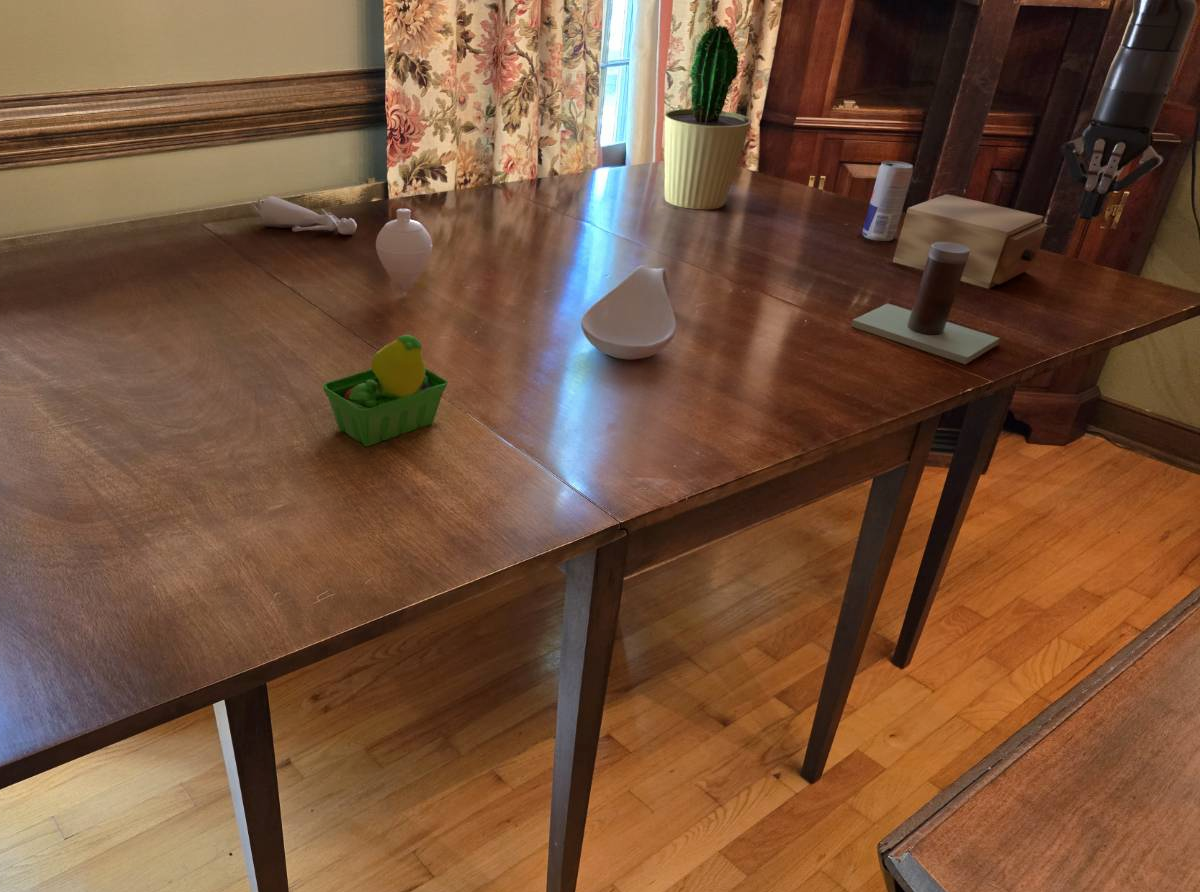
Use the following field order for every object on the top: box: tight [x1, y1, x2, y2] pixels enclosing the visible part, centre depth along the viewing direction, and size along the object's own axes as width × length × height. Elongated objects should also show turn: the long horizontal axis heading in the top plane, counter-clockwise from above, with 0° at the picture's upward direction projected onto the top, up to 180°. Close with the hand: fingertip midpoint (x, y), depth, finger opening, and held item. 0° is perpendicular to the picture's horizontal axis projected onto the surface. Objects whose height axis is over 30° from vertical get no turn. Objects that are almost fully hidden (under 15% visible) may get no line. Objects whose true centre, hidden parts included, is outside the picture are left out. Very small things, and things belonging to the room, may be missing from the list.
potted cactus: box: [664, 21, 752, 210], centre depth 172 cm, size 15×15×30 cm
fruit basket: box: [322, 334, 448, 448], centre depth 99 cm, size 11×9×11 cm
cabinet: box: [892, 193, 1044, 290], centre depth 152 cm, size 16×14×9 cm
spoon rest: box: [580, 264, 677, 361], centre depth 124 cm, size 24×12×7 cm, turn 162°
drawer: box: [993, 222, 1049, 285], centre depth 151 cm, size 16×12×7 cm
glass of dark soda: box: [907, 242, 970, 335], centre depth 126 cm, size 5×5×11 cm
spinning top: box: [375, 208, 433, 298], centre depth 131 cm, size 8×8×12 cm
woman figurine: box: [250, 195, 358, 236], centre depth 157 cm, size 12×4×18 cm
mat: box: [850, 303, 1000, 365], centre depth 129 cm, size 16×10×1 cm, turn 43°
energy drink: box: [862, 160, 914, 242], centre depth 163 cm, size 5×5×12 cm
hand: (1087, 218), depth 137 cm, fingers closed
